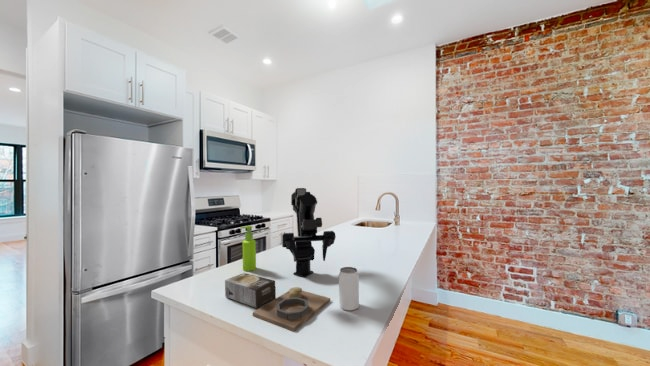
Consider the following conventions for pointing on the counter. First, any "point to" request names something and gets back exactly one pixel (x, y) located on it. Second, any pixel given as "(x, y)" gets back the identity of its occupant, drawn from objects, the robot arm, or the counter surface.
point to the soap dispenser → (249, 250)
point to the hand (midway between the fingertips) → (310, 261)
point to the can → (348, 288)
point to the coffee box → (250, 289)
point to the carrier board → (292, 308)
